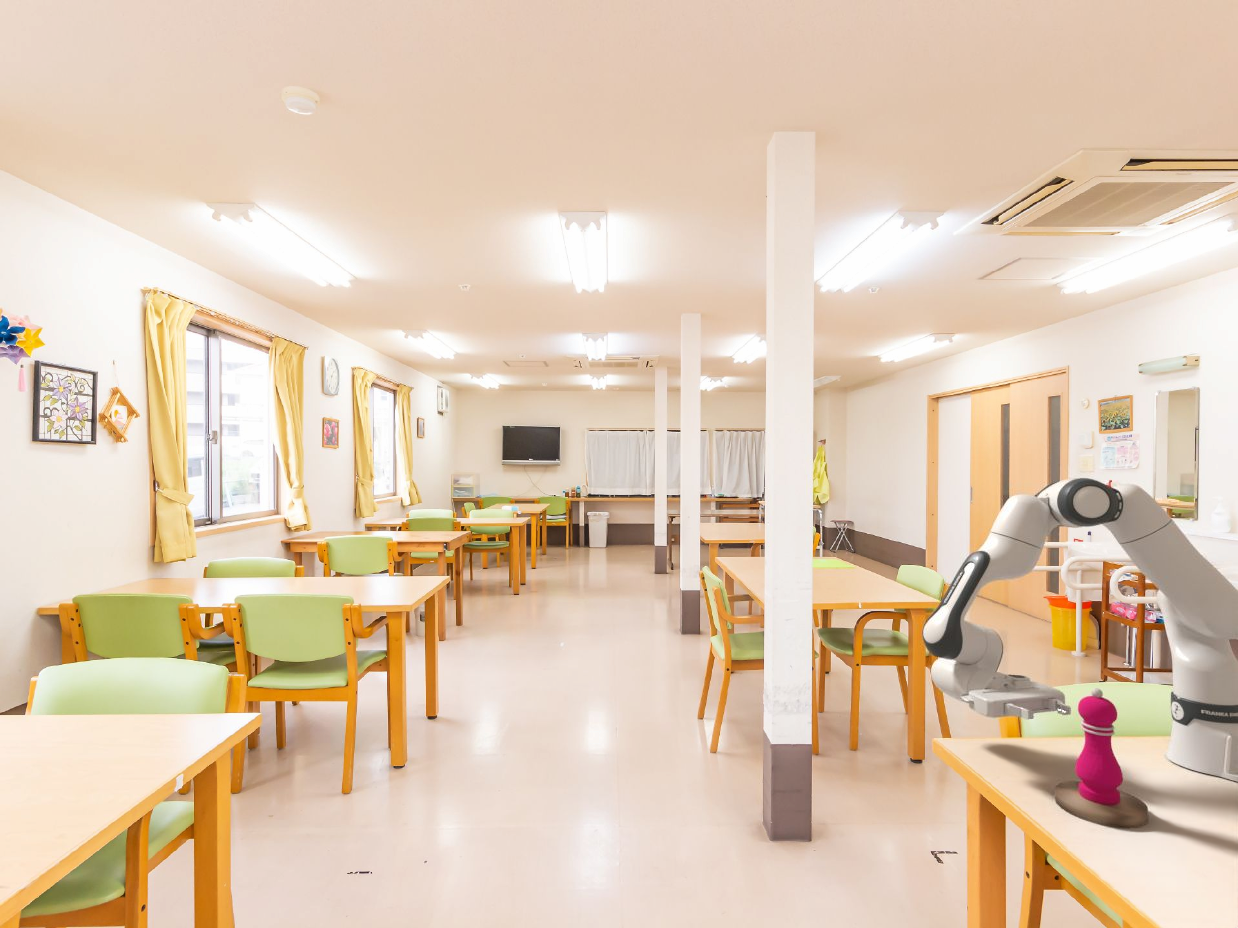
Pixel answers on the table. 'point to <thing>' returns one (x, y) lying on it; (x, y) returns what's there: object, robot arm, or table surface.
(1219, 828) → the table surface
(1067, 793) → the walnut board
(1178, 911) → the table surface
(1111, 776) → the pepper mill
